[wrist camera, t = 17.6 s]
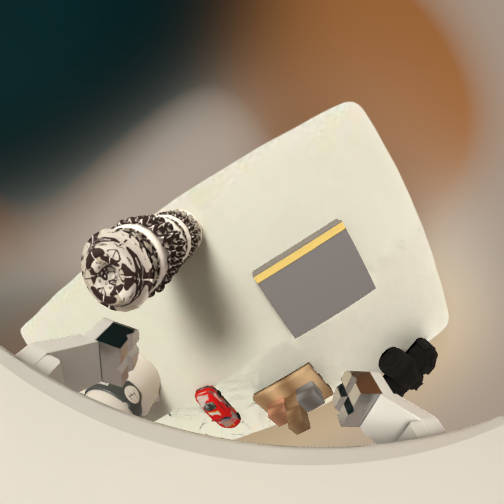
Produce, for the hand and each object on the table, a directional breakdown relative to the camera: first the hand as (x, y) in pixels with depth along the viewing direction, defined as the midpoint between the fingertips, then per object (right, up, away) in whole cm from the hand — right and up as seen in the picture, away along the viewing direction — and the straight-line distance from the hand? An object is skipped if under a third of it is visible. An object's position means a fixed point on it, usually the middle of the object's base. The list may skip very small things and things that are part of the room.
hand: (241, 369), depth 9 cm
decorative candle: (-12, +8, +37) cm, 39 cm away
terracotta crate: (+6, -28, +42) cm, 51 cm away
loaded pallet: (+9, -26, +44) cm, 52 cm away
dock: (+11, 0, +38) cm, 40 cm away
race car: (-4, -31, +47) cm, 56 cm away
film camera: (+33, -19, +42) cm, 57 cm away
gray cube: (+12, -24, +41) cm, 49 cm away
